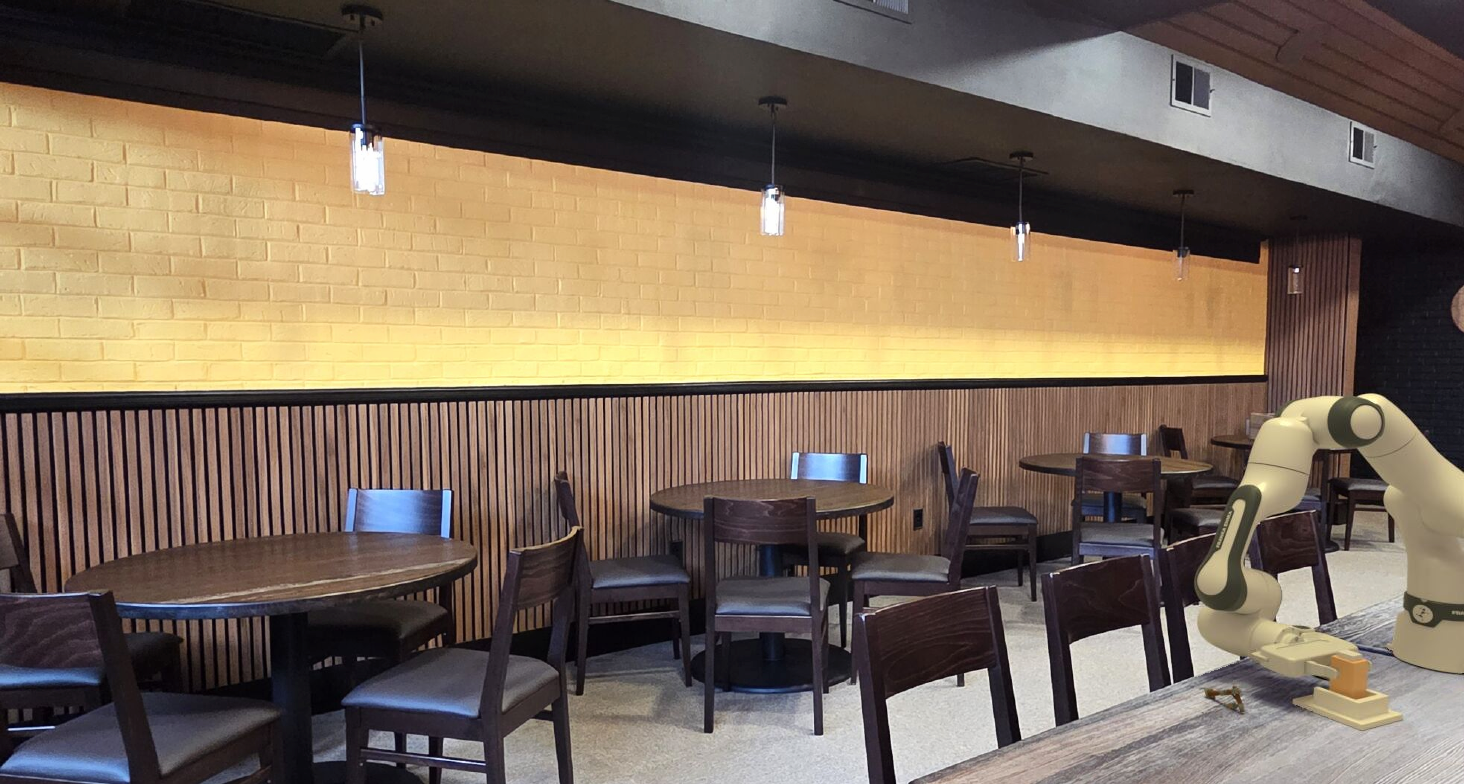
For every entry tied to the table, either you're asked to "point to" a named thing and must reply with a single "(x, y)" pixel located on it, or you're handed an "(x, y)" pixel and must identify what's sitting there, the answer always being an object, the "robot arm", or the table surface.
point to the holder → (1351, 708)
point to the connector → (1349, 674)
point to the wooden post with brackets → (1211, 694)
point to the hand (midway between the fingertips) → (1354, 670)
